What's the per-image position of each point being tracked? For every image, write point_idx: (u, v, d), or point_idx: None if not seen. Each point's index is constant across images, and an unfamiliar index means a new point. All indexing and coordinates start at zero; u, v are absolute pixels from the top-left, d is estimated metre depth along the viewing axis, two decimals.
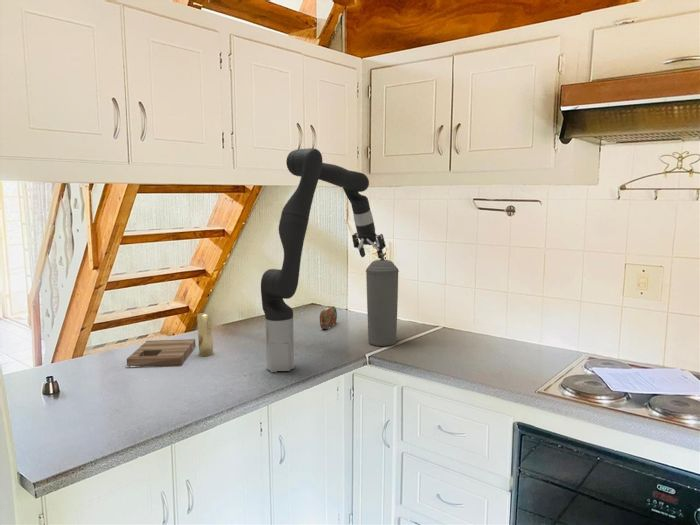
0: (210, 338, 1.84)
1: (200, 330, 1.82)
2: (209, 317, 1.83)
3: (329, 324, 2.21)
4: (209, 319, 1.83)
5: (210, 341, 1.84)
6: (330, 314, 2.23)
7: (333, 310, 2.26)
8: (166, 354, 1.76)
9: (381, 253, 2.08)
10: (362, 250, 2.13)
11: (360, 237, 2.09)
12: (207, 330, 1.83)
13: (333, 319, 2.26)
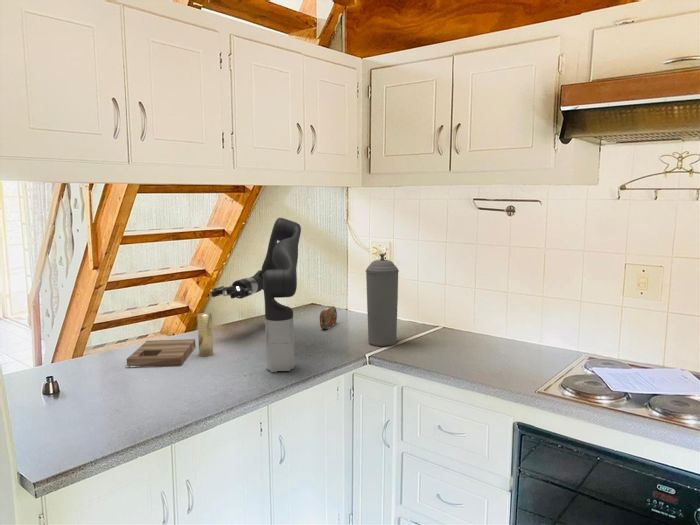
0: (210, 338, 1.84)
1: (200, 330, 1.82)
2: (209, 317, 1.83)
3: (329, 324, 2.21)
4: (209, 319, 1.83)
5: (210, 341, 1.84)
6: (330, 314, 2.23)
7: (333, 310, 2.26)
8: (166, 354, 1.76)
9: (236, 294, 1.94)
10: (217, 292, 1.98)
11: None
12: (207, 330, 1.83)
13: (333, 319, 2.26)
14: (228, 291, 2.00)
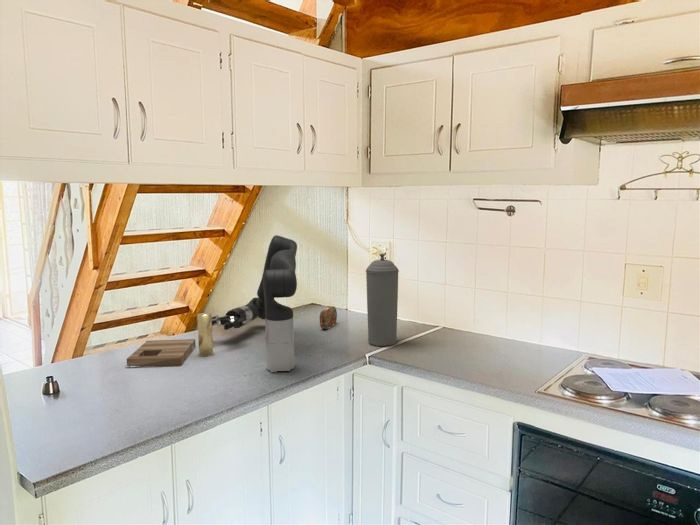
0: (210, 338, 1.84)
1: (200, 330, 1.82)
2: (209, 317, 1.83)
3: (329, 324, 2.21)
4: (209, 319, 1.83)
5: (210, 341, 1.84)
6: (330, 314, 2.23)
7: (333, 310, 2.26)
8: (166, 354, 1.76)
9: (230, 325, 1.90)
10: None
11: None
12: (207, 330, 1.83)
13: (333, 319, 2.26)
14: (222, 321, 1.96)
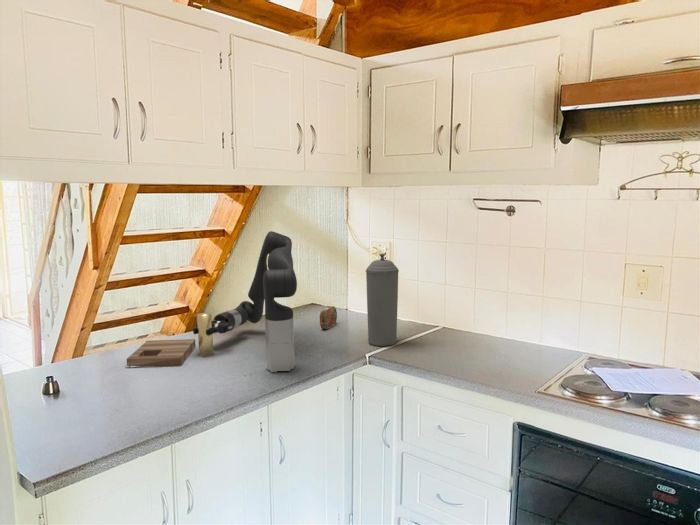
0: (210, 338, 1.84)
1: (200, 330, 1.82)
2: (209, 317, 1.83)
3: (329, 324, 2.21)
4: (209, 319, 1.83)
5: (210, 341, 1.84)
6: (330, 314, 2.23)
7: (333, 310, 2.26)
8: (166, 354, 1.76)
9: (213, 330, 1.83)
10: None
11: None
12: None
13: (333, 319, 2.26)
14: None
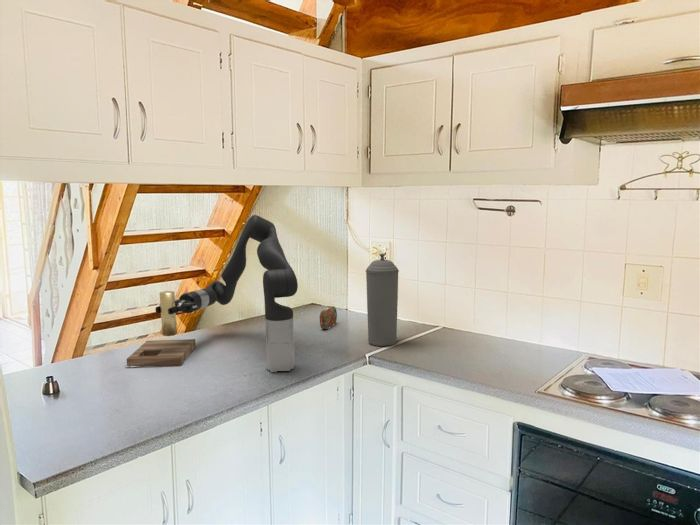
0: (173, 317, 1.78)
1: (162, 309, 1.77)
2: (172, 295, 1.77)
3: (329, 324, 2.21)
4: (172, 297, 1.77)
5: (173, 320, 1.79)
6: (330, 314, 2.23)
7: (333, 310, 2.26)
8: (166, 354, 1.76)
9: (175, 309, 1.77)
10: None
11: None
12: None
13: (333, 319, 2.26)
14: (175, 305, 1.83)
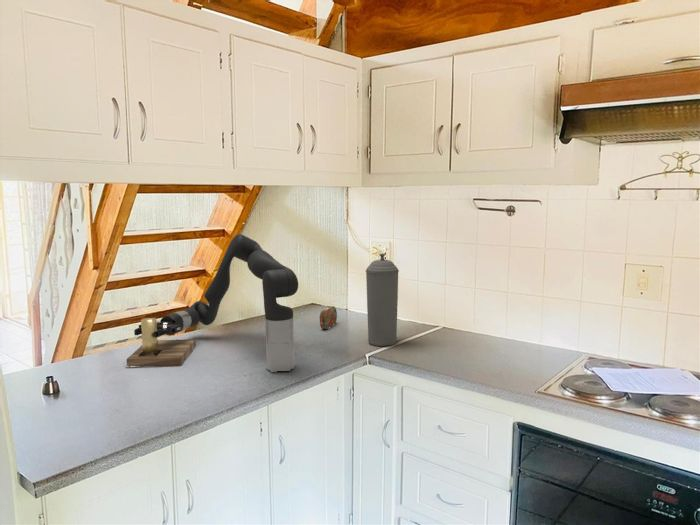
0: (154, 344, 1.77)
1: (144, 336, 1.75)
2: (153, 322, 1.76)
3: (329, 324, 2.21)
4: (153, 324, 1.76)
5: (154, 348, 1.77)
6: (330, 314, 2.23)
7: (333, 310, 2.26)
8: (166, 354, 1.76)
9: (161, 332, 1.75)
10: None
11: None
12: (151, 336, 1.75)
13: (333, 319, 2.26)
14: None
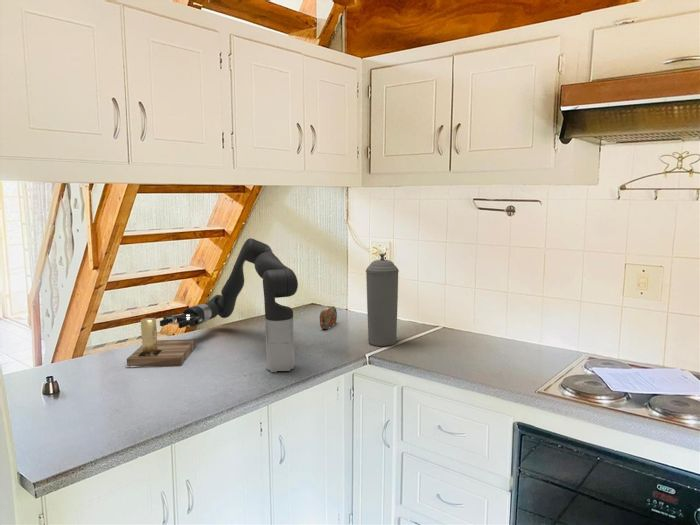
0: (154, 344, 1.77)
1: (143, 336, 1.75)
2: (153, 323, 1.76)
3: (329, 324, 2.21)
4: (153, 325, 1.76)
5: (154, 348, 1.77)
6: (330, 314, 2.23)
7: (333, 310, 2.26)
8: (166, 354, 1.76)
9: (185, 323, 1.87)
10: (166, 321, 1.91)
11: None
12: (151, 336, 1.75)
13: (333, 319, 2.26)
14: (178, 320, 1.93)
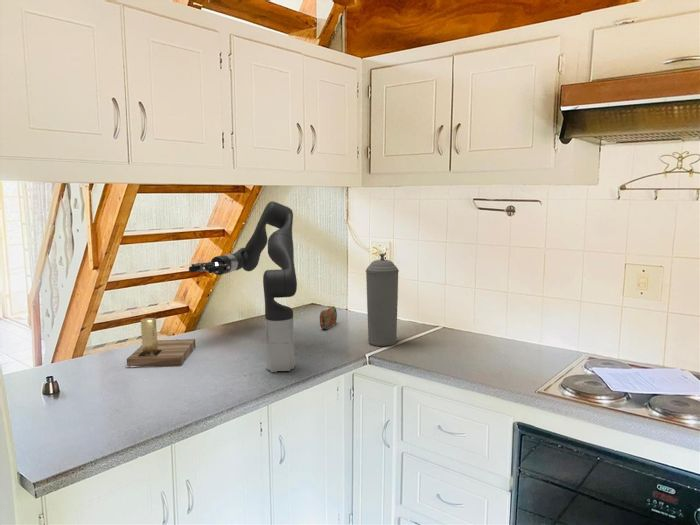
0: (154, 344, 1.76)
1: (143, 336, 1.75)
2: (153, 323, 1.75)
3: (329, 324, 2.21)
4: (153, 325, 1.76)
5: (154, 348, 1.77)
6: (330, 314, 2.23)
7: (333, 310, 2.26)
8: (166, 354, 1.76)
9: (214, 269, 1.90)
10: (195, 268, 1.94)
11: None
12: (151, 336, 1.75)
13: (333, 319, 2.26)
14: (206, 267, 1.96)
